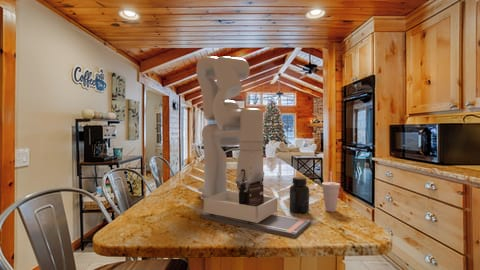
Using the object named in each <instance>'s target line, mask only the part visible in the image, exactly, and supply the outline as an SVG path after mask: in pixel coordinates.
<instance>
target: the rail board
mask: <svg viewBox="0 0 480 270" xmlns="http://www.w3.org/2000/svg"><path fill="white" fill-rule="evenodd" d="M199 218H201V219H205V220H210V221H215V222H219V223H225V224H229V225H234V226H238V227H243V228H248V229H252V230H256V231H262V232H267V233H269V234H275V235H279V236H285V237H289V238H294V239H295V238H297V237H298V236H299V235H300V234H301V233H302V232H304V231H305V230H306V229H307V228H308V227H309V226H310V225H311V224H312V220H311V219H308V218H303V217H296V216H290V215H283V214H278V213H273V214H272V215H270V216H268V217H267V218H265V219H263V220H261V221H260V222H258V223H255V222H251V223H247V221H245V220H240V219H235V218H230V217H225V216H220V215H212V216H211V215H210V214H209V213H205V212H203V213H200V214H199Z"/></svg>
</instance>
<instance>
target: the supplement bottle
mask: <svg viewBox="0 0 480 270" xmlns="http://www.w3.org/2000/svg"><path fill="white" fill-rule="evenodd" d="M309 211H310V188H309V186H307V178H306V177H300V176H296V177H292V184H291V185H290V186H289V212H291V213H292V214H297V215H306V214H308V213H309Z"/></svg>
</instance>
